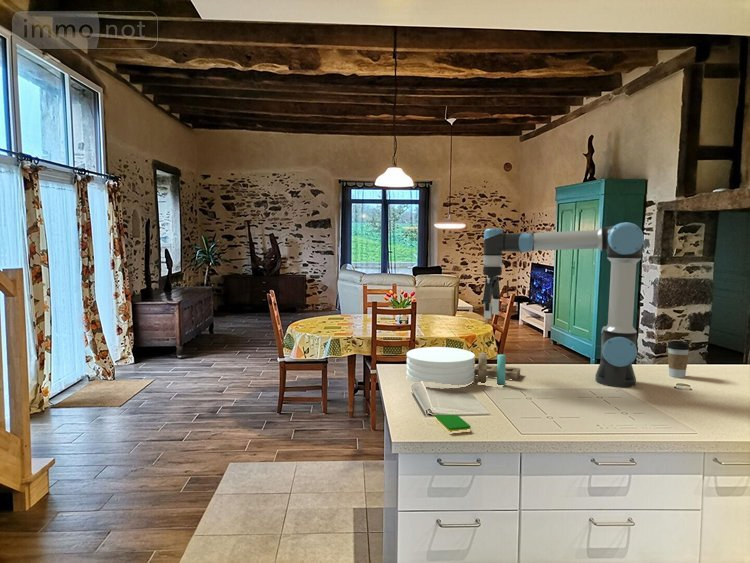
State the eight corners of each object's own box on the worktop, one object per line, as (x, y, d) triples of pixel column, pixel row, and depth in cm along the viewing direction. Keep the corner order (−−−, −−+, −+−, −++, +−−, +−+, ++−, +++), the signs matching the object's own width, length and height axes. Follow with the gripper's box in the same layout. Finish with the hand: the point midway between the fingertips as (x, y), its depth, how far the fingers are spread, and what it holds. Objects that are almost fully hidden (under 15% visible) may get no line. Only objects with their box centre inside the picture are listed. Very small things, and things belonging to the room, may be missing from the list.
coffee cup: (668, 378, 217) (670, 343, 215) (663, 373, 225) (665, 339, 223) (691, 379, 214) (692, 344, 213) (685, 374, 222) (687, 340, 221)
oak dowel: (487, 382, 209) (487, 353, 208) (485, 384, 206) (485, 354, 205) (479, 381, 210) (479, 352, 209) (477, 383, 207) (477, 354, 206)
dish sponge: (453, 418, 169) (453, 411, 169) (471, 433, 156) (471, 426, 156) (433, 420, 167) (433, 413, 167) (449, 436, 154) (449, 428, 154)
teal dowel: (505, 384, 206) (506, 354, 205) (504, 386, 203) (504, 356, 202) (497, 383, 207) (498, 354, 206) (496, 385, 204) (496, 355, 203)
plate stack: (397, 374, 223) (397, 349, 222) (457, 370, 230) (457, 345, 229) (420, 393, 196) (420, 364, 195) (486, 387, 203) (487, 359, 202)
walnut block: (520, 376, 220) (520, 368, 219) (516, 382, 211) (516, 373, 210) (478, 371, 227) (478, 363, 227) (472, 377, 218) (473, 369, 218)
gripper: (490, 264, 226) (489, 312, 227) (475, 267, 203) (474, 319, 205) (507, 264, 222) (506, 313, 224) (494, 267, 200) (493, 321, 202)
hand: (491, 316), depth 215 cm, fingers open, 13 cm apart
